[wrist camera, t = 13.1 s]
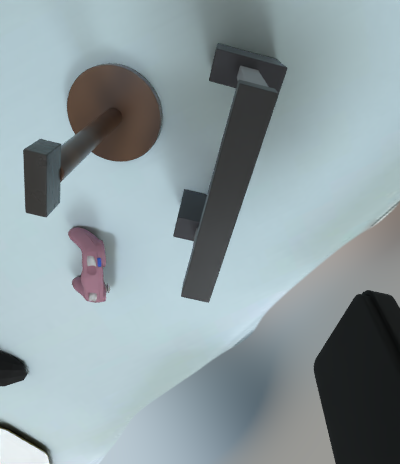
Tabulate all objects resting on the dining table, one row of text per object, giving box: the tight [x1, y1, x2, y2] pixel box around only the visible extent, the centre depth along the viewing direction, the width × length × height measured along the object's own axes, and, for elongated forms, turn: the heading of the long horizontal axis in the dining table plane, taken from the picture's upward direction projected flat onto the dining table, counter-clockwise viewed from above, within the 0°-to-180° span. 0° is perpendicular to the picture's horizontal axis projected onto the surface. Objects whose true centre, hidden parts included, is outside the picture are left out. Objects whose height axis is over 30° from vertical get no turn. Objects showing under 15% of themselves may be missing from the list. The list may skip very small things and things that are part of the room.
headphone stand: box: [23, 63, 162, 217], centre depth 30 cm, size 10×10×19 cm
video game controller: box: [68, 227, 110, 303], centre depth 46 cm, size 10×5×7 cm, turn 172°
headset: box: [173, 43, 287, 302], centre depth 32 cm, size 6×18×17 cm, turn 167°
